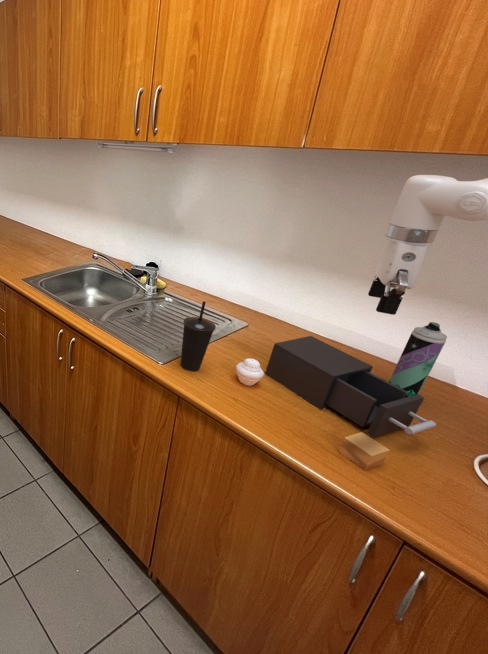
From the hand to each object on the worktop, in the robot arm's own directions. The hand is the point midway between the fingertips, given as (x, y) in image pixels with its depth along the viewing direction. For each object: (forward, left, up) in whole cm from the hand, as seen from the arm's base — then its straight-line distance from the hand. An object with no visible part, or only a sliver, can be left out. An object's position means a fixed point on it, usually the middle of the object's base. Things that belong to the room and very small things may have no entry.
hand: (380, 304), depth 92 cm
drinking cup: (+19, +32, -24) cm, 44 cm away
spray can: (-6, -9, -24) cm, 26 cm away
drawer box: (+3, +9, -23) cm, 25 cm away
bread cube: (-17, +22, -23) cm, 36 cm away
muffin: (+9, +23, -24) cm, 34 cm away
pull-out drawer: (-10, +9, -22) cm, 26 cm away
